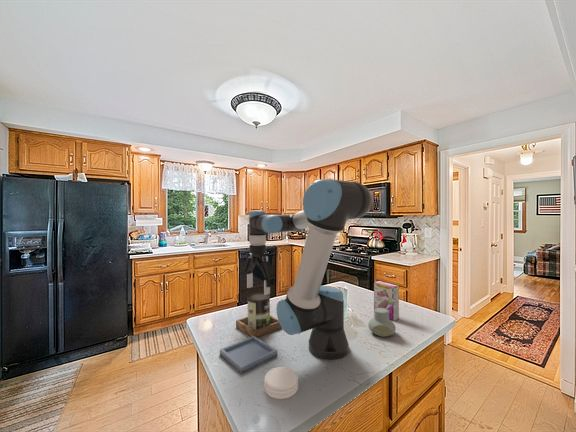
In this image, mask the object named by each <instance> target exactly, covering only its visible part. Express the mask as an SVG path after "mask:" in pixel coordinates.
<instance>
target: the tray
mask: <svg viewBox="0 0 576 432" xmlns="http://www.w3.org/2000/svg"><path fill="white" fill-rule="evenodd" d="M219 356H220V357H222V358H223V359H224V360H225V361H226V362H227V363H228V364H230V365H231V367H233V368H234V369H235V370H236V371H237V372H239V373H240V374H241V375H242V374H244V373H246V372H249V370H252V369H254V368H256V367H258V366H260V365H262V364H264V363H266V362H268V361H270V360H272V359H274V358H276V357H277V356H278V349H275V347H273V346H271V345H269V344H268V343H266V342H264V340H261V339H260V338H259V337H258V338H257V337H255V336H252V337H251V336H249V337H248V338H245V339H242V340H239V341H237V342H235V343H233V344H230V345H228V346H224V347H223V348H220V349H219Z"/></svg>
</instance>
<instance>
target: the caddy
mask: <svg viewBox="0 0 576 432" xmlns="http://www.w3.org/2000/svg"><path fill="white" fill-rule="evenodd" d="M235 328H237V329H238V330H240V331H241V332H243V333H244V334H246V335H248V336H249V337H252V336H255V337H257V338H258V339H259V338H261V337H263V336H265V335H268V334H270V333H273V332H275V331H278V330H279V329H282V327H281V325H280V323H279V320H278V317H277V318H276V317H274V316H272V315H270V325H267V326H265V327H262V328H259V329H257V330H254V329H252V328H251V327H249V326H248V316H246V317H242V318H240V319H237V320H236V321H235Z"/></svg>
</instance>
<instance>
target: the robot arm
mask: <svg viewBox="0 0 576 432" xmlns="http://www.w3.org/2000/svg"><path fill="white" fill-rule="evenodd" d="M372 201H373V198H372V194H371V191H370V190H369V189H368V188H367V186H365V185H364V184H362V183H360V182H358V181H347V180H339V179H331V178H327V179H318V180H315V181H314V182H311V183H310V185H309V186H308V187H307V188H306V190H305V192H304V194H303V197H302V206H303V209H302V210H300V211H297V212H294V213H293V214H267V213H266V211H265V210H251V211H249V217H248V225H249V226H248V230H249V232H248V233H249V235H248V236H249V237H248V238H249V239H248V240H249V243H248V244H250V245H249V253H247V257H246V258H247V259H246V261H245V264H244V265H245V266H244V268H243V272H245V274H246V288H247V289H250V288H254V287H253V284H254V281H253V280H254V278H253V277H254V275H253V273H254V272H253V271H254V269H255V266H258V267H259V268H260V270H261V272H262V275H263V277H264V279H263V294H264V295H267V294H268V295H270V294H271V286H272V285H271V280H273V279H274V278H275V276H274V272H273V269H272V266H271V262H270V257H269V256H267V255H266V256H265V254H266V253H267V245H266V243H267V234H277V233H287V232H288V233H289V232H302V231H304V230H306V229H307V228H308V231H307V235H306V239H305V243H304V247H303V250H302V253H301V254H302V255H301V258H300V262H299V265H298V268H297V273H296V276H295V281H294V284H293V285H292V286H291V287H290V288H288V290H287V293H286V297H285V298H284V299H281V300H278V302H277V304H276V316H277V319H278V320H279V323H280V325H281V327H282V328H281V329H282V330H283V332H285V333H286V334H287V335H290V336H294V335H297V334H298V335H300V334H301V333H304V332H307V331H309V330H311V332H310V336H309V339H308V351H310V353H311V354H312V355H313V356H316V357H317V358H321V359H325V360H339V359H343V358H344V357H345V356H347V355H348V354H349V351H350V347H349V345H350V343H349V341H348V339H347V335H346V332H345V327H344V326H345V325H344V323H345V321H344V320H345V318H344V314H345V313H344V306H345V305H344V303H345V300H344V293H343V291H342V290H341V289H339V288H336V287H334V286H327V285H322V283H323V279H324V275H325V273H326V271H327V266H328V263H329V262H330V261H329V259H330V256H331V254H332V251H333V248H334V245H335V241H336V238H337V234H339V233H341V232H343V231H344V229H345V226H346V223H347V221H348V220H354V219H355V220H356V219H359V218H362V217H364V216H365V215H366V214H367V213H368V212H369V211H370V209H371V208H372V207H371V206H372V203H373V202H372Z"/></svg>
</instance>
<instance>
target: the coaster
mask: <svg viewBox="0 0 576 432" xmlns="http://www.w3.org/2000/svg"><path fill="white" fill-rule="evenodd" d="M263 382H264V386H263V387H264V392H265V393H266V395H267V396H268V397H270V398H272V399H275V400H287V399H290V398H291V397H293V396H294V395H296V393H297V392H298V390H299V376H298V373H297V372H296V370H294V369H292V368H291V367H286V366H278V367H274V368H271V369H270V370H268V371H267V373H265V376H264V381H263Z"/></svg>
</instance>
